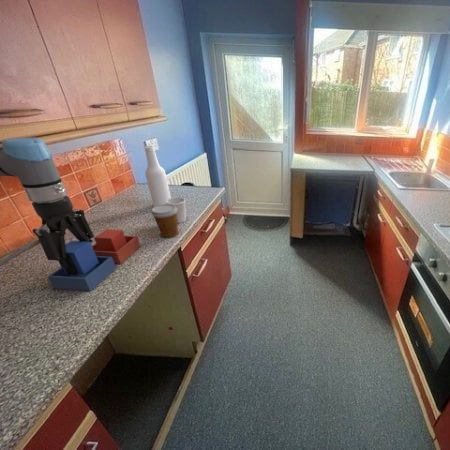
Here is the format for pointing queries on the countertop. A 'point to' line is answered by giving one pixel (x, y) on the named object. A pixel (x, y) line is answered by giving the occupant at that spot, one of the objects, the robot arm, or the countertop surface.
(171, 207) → the disposable coffee cup
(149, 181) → the white bottle
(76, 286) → the blue bin
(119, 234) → the red block
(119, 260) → the red bin
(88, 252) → the blue block
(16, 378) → the countertop surface
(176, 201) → the dixie cup
